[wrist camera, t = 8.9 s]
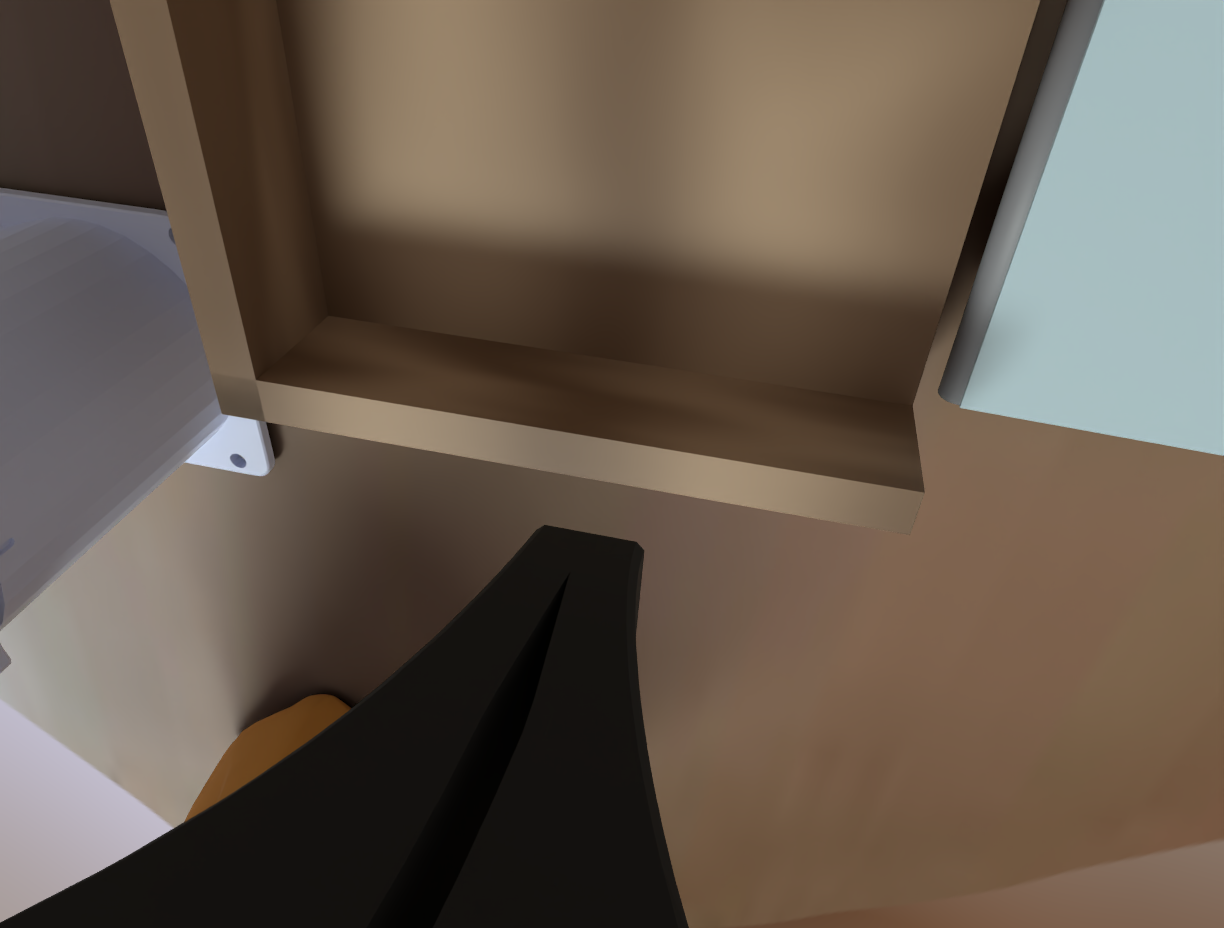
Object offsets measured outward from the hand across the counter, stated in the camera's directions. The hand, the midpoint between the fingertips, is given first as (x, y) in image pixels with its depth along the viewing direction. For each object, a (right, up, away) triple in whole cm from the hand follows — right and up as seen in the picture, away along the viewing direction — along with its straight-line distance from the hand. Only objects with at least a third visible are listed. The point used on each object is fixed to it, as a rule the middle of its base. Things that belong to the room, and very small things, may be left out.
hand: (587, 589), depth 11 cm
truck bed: (0, +9, +6) cm, 11 cm away
